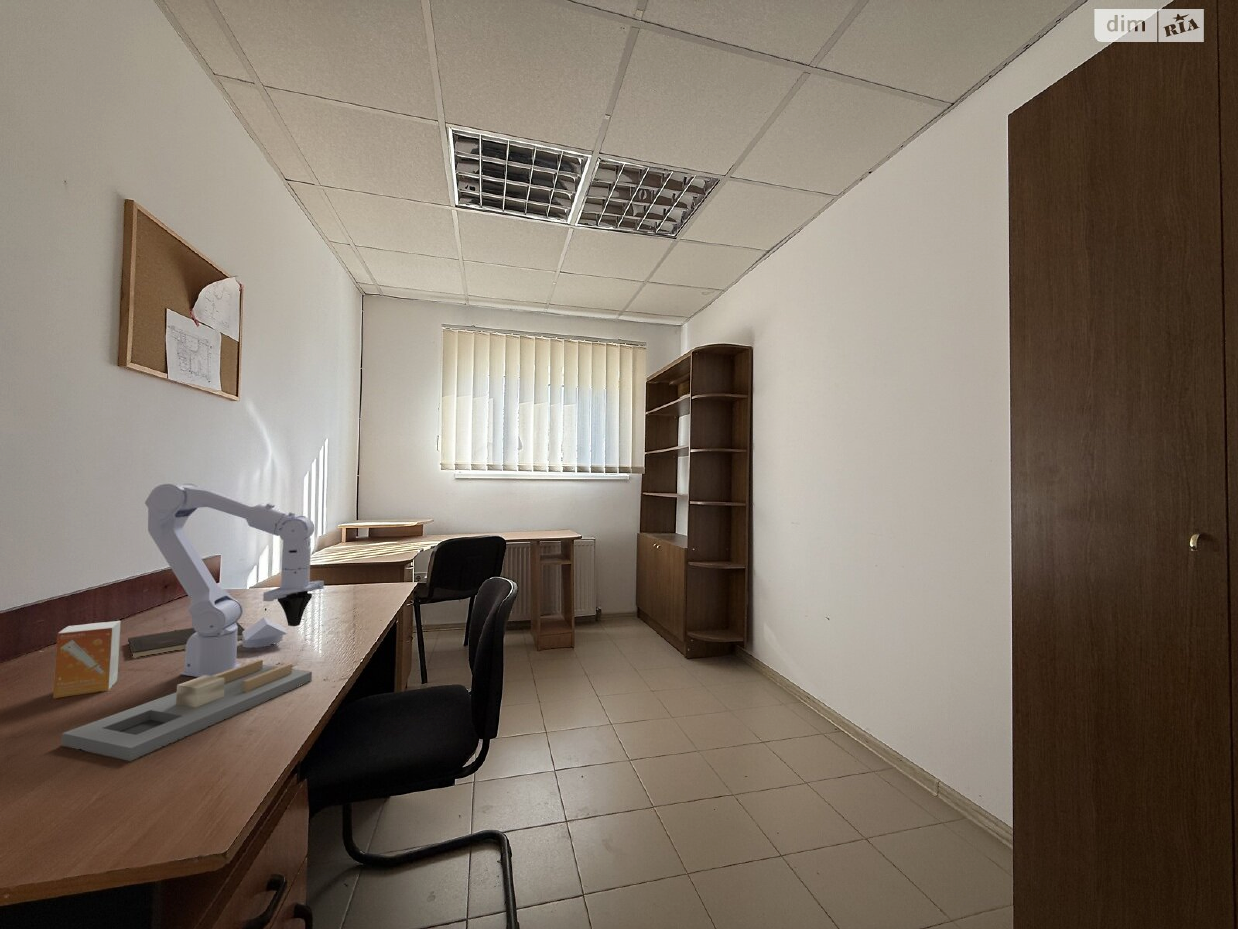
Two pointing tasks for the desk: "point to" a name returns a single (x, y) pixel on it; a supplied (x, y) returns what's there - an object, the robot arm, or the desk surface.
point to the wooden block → (200, 691)
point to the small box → (86, 658)
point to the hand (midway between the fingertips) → (293, 625)
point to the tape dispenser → (263, 634)
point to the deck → (182, 713)
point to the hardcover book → (165, 641)
